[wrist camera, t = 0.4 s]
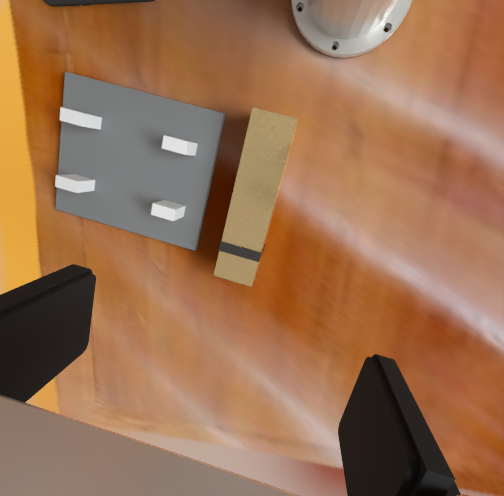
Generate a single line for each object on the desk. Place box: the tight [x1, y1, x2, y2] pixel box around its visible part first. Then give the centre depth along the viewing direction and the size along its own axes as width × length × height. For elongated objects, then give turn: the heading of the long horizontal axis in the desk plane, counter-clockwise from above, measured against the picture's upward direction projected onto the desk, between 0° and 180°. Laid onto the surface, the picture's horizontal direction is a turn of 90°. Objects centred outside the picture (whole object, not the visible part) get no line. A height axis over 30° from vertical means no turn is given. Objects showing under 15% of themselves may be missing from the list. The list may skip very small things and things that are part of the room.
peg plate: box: [55, 72, 226, 251], centre depth 40 cm, size 18×21×4 cm
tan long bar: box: [214, 107, 298, 287], centre depth 38 cm, size 20×5×5 cm, turn 166°
